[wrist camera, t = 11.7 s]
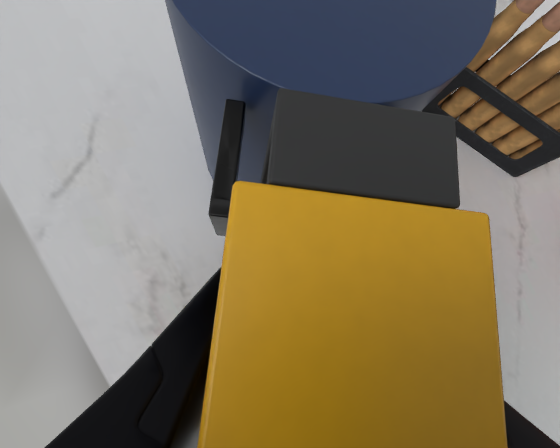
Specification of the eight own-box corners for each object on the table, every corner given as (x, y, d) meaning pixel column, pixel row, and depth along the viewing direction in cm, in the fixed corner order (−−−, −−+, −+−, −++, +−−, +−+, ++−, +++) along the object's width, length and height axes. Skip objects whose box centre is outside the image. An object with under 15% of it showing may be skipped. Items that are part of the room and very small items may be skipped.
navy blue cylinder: (343, 273, 21) (522, 243, 8) (187, 257, 20) (80, 189, 7) (350, 99, 25) (485, -133, 11) (216, 76, 23) (184, -215, 10)
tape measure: (305, 368, 15) (526, 625, 3) (225, 363, 15) (171, 636, 3) (313, 240, 17) (483, 120, 5) (241, 232, 16) (246, 80, 5)
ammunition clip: (523, 162, 26) (758, 55, 14) (515, 177, 25) (752, 81, 14) (422, 90, 26) (571, -74, 14) (412, 104, 25) (558, -53, 14)
